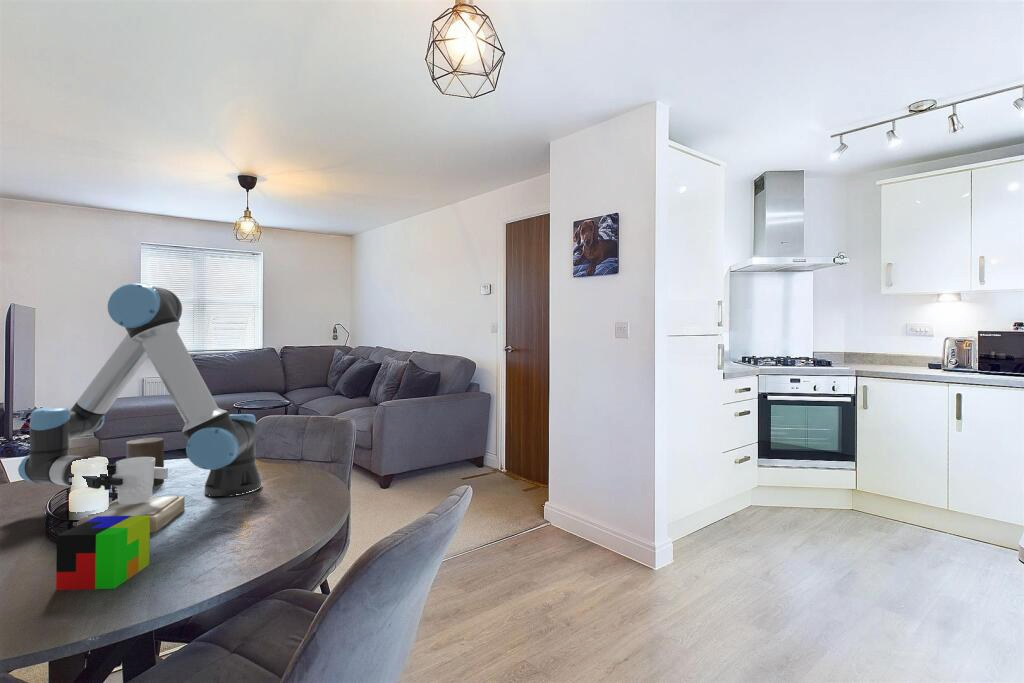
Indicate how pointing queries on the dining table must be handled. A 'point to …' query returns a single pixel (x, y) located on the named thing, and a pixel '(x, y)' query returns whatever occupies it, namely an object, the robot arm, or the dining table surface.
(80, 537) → the puzzle toy
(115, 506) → the oak riser
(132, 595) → the dining table surface
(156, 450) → the pillar candle
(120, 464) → the white cup
